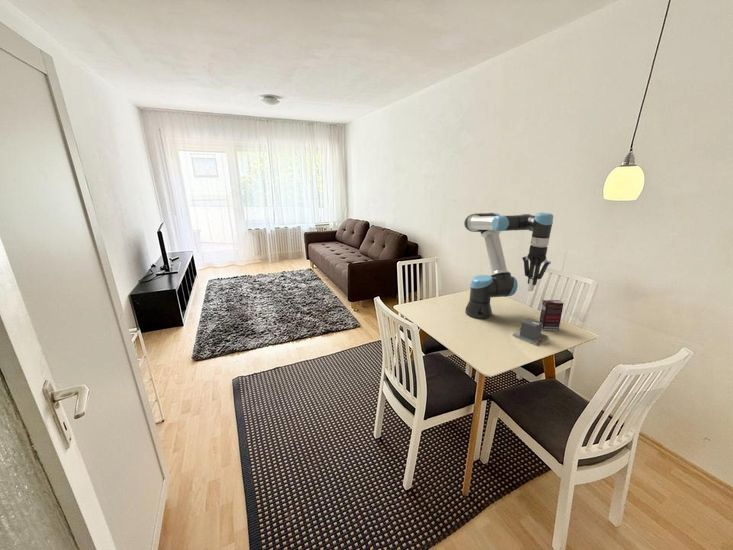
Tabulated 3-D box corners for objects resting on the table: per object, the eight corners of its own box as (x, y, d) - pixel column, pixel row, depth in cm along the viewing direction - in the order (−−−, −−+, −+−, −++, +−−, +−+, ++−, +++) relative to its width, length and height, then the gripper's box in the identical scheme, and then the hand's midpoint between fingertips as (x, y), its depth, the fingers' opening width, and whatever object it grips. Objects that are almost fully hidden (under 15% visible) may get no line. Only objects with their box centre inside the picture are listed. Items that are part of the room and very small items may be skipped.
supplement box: (554, 326, 162) (559, 299, 157) (558, 330, 157) (564, 303, 153) (537, 326, 163) (542, 299, 158) (541, 330, 158) (546, 302, 154)
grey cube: (526, 330, 156) (528, 317, 154) (540, 335, 150) (542, 322, 148) (519, 334, 152) (521, 321, 150) (533, 339, 146) (535, 326, 144)
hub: (512, 335, 153) (513, 325, 151) (524, 329, 160) (525, 319, 158) (536, 345, 144) (538, 334, 142) (547, 338, 150) (549, 327, 148)
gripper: (521, 244, 146) (514, 288, 154) (549, 249, 136) (540, 296, 144) (529, 242, 150) (522, 285, 158) (556, 246, 140) (547, 292, 148)
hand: (530, 290), depth 151 cm, fingers closed
